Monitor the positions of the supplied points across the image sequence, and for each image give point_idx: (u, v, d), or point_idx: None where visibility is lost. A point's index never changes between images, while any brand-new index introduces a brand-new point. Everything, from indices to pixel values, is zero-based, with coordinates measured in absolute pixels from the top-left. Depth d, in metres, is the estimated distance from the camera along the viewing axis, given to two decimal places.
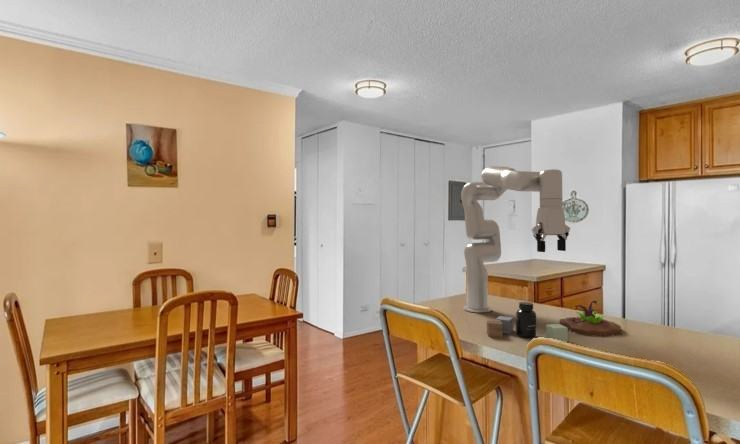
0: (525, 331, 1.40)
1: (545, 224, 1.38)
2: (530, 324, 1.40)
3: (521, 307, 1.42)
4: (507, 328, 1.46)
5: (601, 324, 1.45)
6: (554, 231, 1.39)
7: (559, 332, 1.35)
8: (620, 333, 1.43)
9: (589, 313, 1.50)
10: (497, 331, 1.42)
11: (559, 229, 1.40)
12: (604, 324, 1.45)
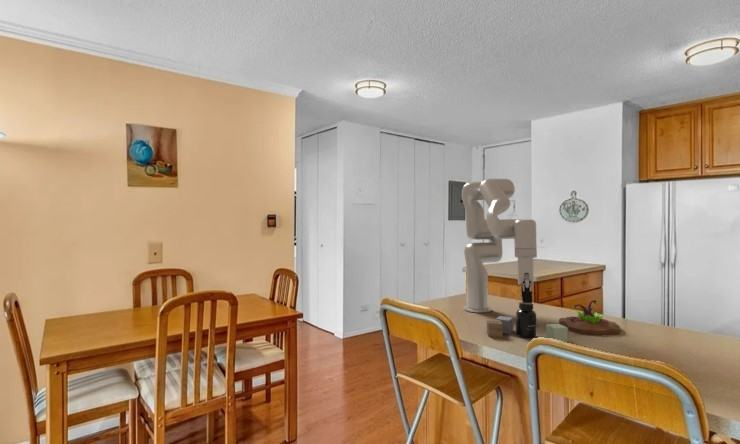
0: (525, 331, 1.40)
1: (532, 274, 1.37)
2: (530, 324, 1.40)
3: (521, 307, 1.42)
4: (507, 328, 1.46)
5: (599, 324, 1.46)
6: None
7: (559, 332, 1.35)
8: (618, 333, 1.43)
9: (588, 312, 1.51)
10: (497, 331, 1.42)
11: None
12: (602, 324, 1.46)
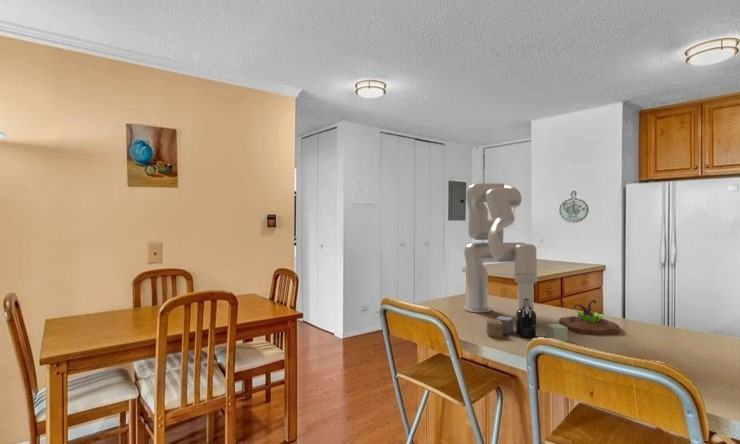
0: (525, 331, 1.40)
1: (532, 300, 1.38)
2: None
3: None
4: (507, 328, 1.46)
5: (598, 323, 1.46)
6: None
7: (559, 332, 1.35)
8: (617, 333, 1.43)
9: (587, 312, 1.51)
10: (497, 331, 1.42)
11: None
12: (601, 323, 1.46)
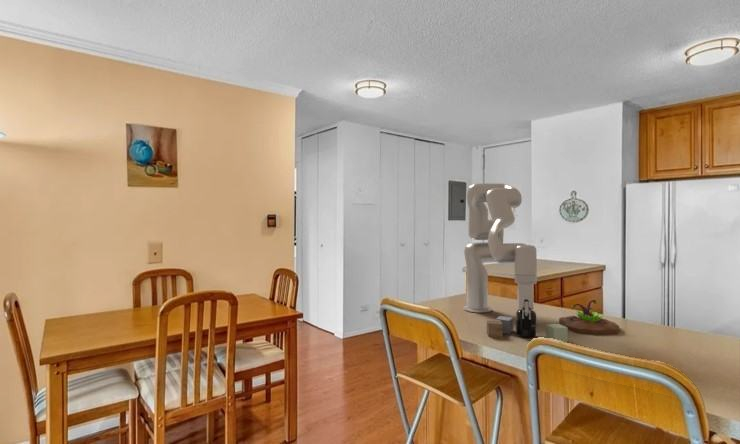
0: (525, 331, 1.40)
1: (532, 301, 1.38)
2: None
3: None
4: (507, 328, 1.46)
5: (597, 323, 1.46)
6: None
7: (559, 332, 1.35)
8: (616, 333, 1.43)
9: (587, 312, 1.51)
10: (497, 331, 1.42)
11: None
12: (600, 323, 1.46)
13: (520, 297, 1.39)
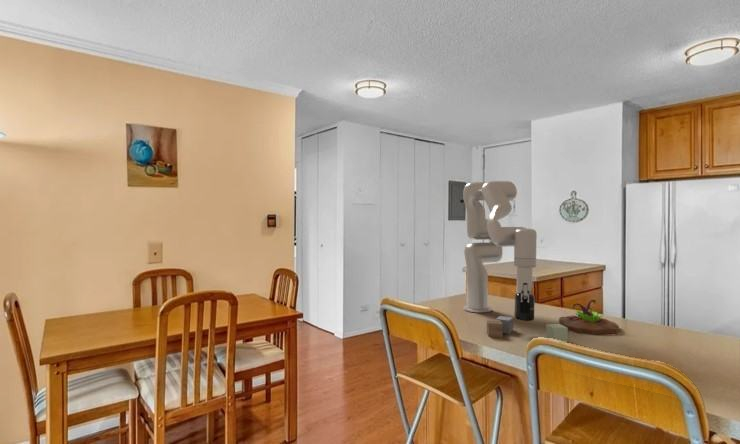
0: (523, 314, 1.41)
1: (530, 284, 1.38)
2: None
3: None
4: (507, 328, 1.46)
5: (596, 323, 1.47)
6: None
7: (559, 332, 1.35)
8: (614, 333, 1.43)
9: (586, 312, 1.52)
10: (497, 331, 1.42)
11: None
12: (599, 323, 1.46)
13: (519, 280, 1.39)
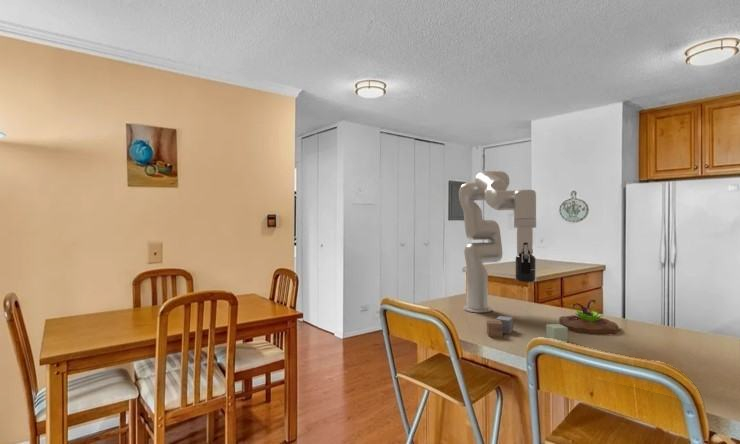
0: (524, 275, 1.40)
1: (531, 244, 1.38)
2: None
3: None
4: (507, 328, 1.46)
5: (595, 323, 1.47)
6: None
7: (559, 332, 1.35)
8: (613, 333, 1.43)
9: (586, 311, 1.52)
10: (497, 331, 1.42)
11: None
12: (598, 323, 1.47)
13: (519, 240, 1.39)
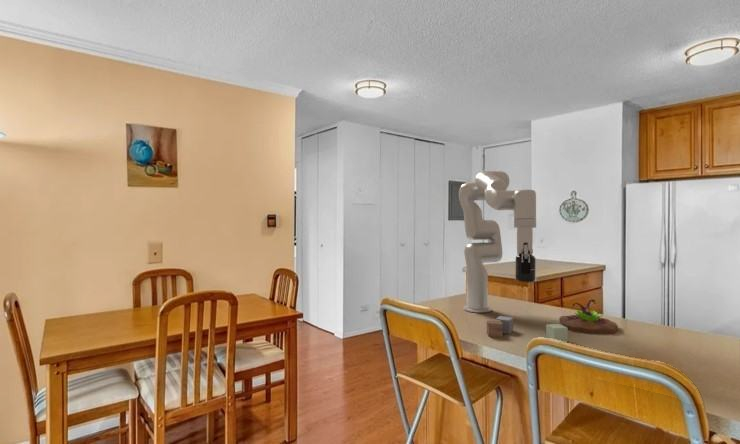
0: (524, 275, 1.40)
1: (531, 244, 1.38)
2: None
3: None
4: (507, 328, 1.46)
5: (593, 322, 1.48)
6: None
7: (559, 332, 1.35)
8: (611, 332, 1.43)
9: (585, 311, 1.53)
10: (497, 331, 1.42)
11: None
12: (596, 323, 1.47)
13: (519, 240, 1.39)
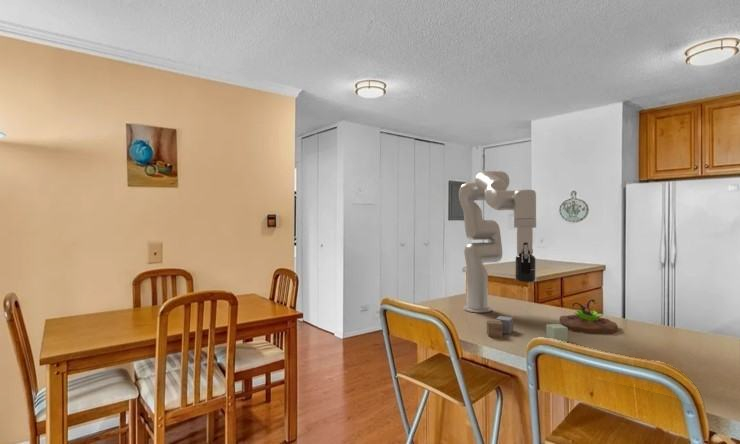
0: (524, 275, 1.40)
1: (531, 244, 1.38)
2: None
3: None
4: (507, 328, 1.46)
5: (592, 322, 1.48)
6: None
7: (559, 332, 1.35)
8: (610, 332, 1.44)
9: (585, 311, 1.53)
10: (497, 331, 1.42)
11: None
12: (596, 322, 1.47)
13: (519, 240, 1.39)
